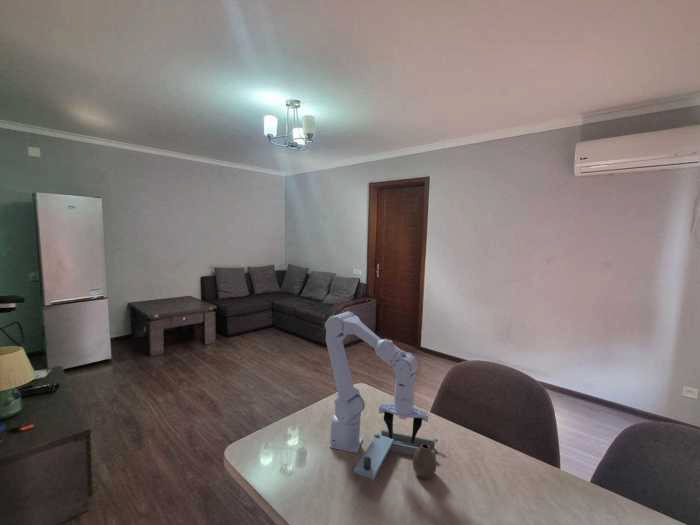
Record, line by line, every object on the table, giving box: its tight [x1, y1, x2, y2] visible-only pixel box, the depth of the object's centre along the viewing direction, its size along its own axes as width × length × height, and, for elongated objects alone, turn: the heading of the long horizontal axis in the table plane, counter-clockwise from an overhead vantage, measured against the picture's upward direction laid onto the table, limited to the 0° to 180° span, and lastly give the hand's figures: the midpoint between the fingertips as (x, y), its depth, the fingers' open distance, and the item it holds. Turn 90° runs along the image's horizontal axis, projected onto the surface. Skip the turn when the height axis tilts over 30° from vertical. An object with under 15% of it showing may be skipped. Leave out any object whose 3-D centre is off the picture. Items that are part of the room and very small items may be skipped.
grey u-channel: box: [380, 429, 439, 457], centre depth 105 cm, size 20×6×4 cm, turn 75°
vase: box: [412, 444, 437, 480], centre depth 93 cm, size 7×7×9 cm
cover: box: [353, 432, 394, 480], centre depth 96 cm, size 18×6×4 cm, turn 155°
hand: (401, 438), depth 95 cm, fingers open, 6 cm apart
